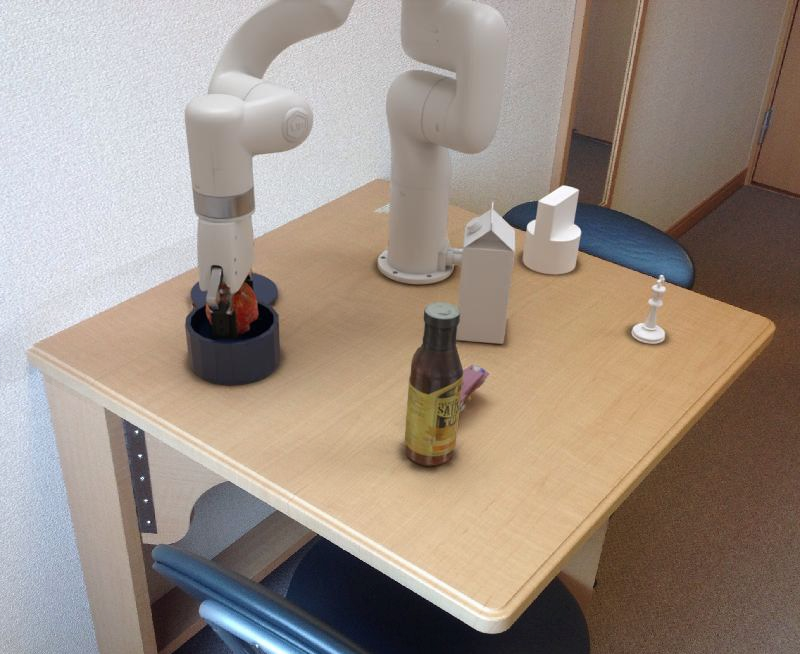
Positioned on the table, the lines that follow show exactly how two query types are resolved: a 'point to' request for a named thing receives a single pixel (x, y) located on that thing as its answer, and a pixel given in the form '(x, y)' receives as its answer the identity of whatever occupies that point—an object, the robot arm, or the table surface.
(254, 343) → the bowl
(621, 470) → the table surface
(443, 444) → the sauce bottle
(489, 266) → the milk carton
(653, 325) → the chess piece
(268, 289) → the lid
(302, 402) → the table surface
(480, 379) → the video game controller
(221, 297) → the pomegranate
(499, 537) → the table surface
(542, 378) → the table surface
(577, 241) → the cylinder with rectangular tab
